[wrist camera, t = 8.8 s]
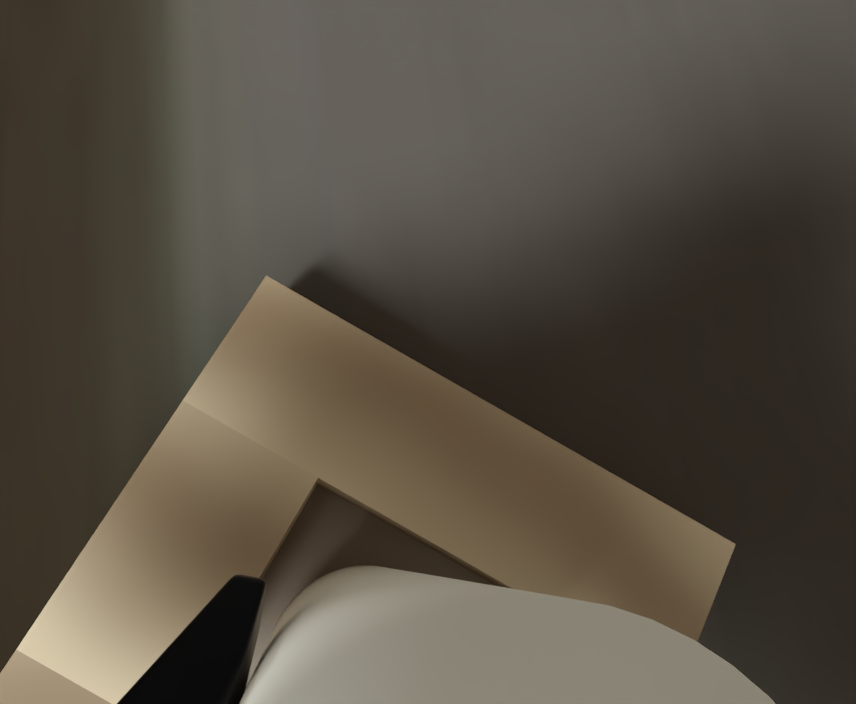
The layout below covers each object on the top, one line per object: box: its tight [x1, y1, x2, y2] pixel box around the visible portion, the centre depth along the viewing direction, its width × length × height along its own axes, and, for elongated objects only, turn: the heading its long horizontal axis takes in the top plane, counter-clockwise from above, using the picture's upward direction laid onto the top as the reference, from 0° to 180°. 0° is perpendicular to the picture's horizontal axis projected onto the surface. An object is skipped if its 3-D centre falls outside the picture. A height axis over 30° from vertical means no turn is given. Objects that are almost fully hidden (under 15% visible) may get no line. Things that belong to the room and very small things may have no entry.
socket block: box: [0, 276, 736, 704], centre depth 16 cm, size 12×12×2 cm
